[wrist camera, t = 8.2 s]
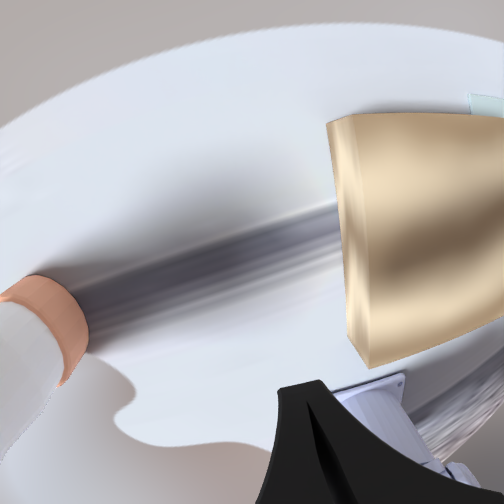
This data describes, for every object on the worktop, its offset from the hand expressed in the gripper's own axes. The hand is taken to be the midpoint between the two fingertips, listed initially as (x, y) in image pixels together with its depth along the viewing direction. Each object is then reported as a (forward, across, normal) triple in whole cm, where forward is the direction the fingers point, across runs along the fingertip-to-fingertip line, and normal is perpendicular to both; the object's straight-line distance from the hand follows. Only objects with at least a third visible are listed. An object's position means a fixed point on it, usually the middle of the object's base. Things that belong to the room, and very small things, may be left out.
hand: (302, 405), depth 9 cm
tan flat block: (+10, -11, -2) cm, 15 cm away
